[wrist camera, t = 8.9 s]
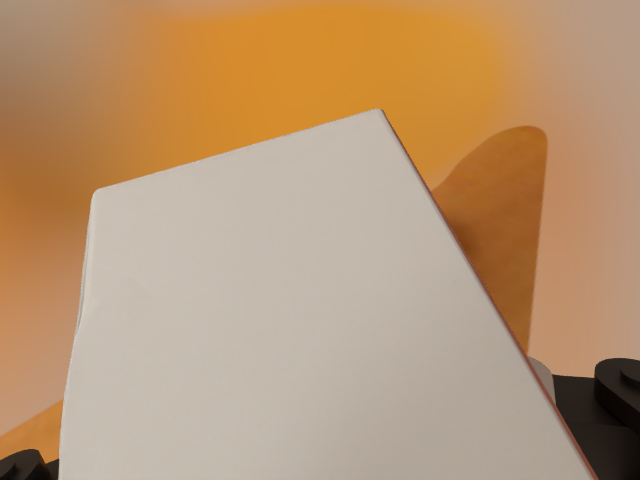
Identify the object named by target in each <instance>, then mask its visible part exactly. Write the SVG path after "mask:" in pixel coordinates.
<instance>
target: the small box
mask: <svg viewBox="0 0 640 480" xmlns="http://www.w3.org/2000/svg"><path fill="white" fill-rule="evenodd" d="M58 480H599V479H598V477H597V476H596V474H595V472H594V471H593V469H592V467H591V466H590V464H589V462H588V461H587V459H586V457H585V455H584V454H583V452H582V450H581V448H580V447H579V445H578V443H577V441H576V440H575V438H574V436H573V435H572V433H571V431H570V429H569V428H568V426H567V424H566V422H565V421H564V419H563V417H562V415H561V414H560V412H559V410H558V409H557V407H556V405H555V403H554V402H553V400H552V398H551V397H550V395H549V393H548V391H547V390H546V388H545V386H544V385H543V383H542V381H541V379H540V378H539V376H538V374H537V373H536V371H535V369H534V367H533V366H532V364H531V362H530V361H529V359H528V357H527V355H526V354H525V352H524V350H523V349H522V347H521V345H520V343H519V342H518V340H517V338H516V337H515V335H514V333H513V332H512V330H511V328H510V327H509V325H508V323H507V322H506V320H505V319H504V317H503V315H502V314H501V312H500V310H499V309H498V307H497V306H496V304H495V302H494V301H493V299H492V297H491V295H490V293H489V291H488V289H487V287H486V286H485V284H484V282H483V280H482V279H481V277H480V275H479V273H478V272H477V270H476V268H475V267H474V265H473V263H472V262H471V260H470V258H469V257H468V255H467V253H466V252H465V250H464V249H463V247H462V245H461V243H460V241H459V239H458V237H457V236H456V234H455V232H454V230H453V229H452V227H451V225H450V224H449V222H448V220H447V219H446V217H445V215H444V213H443V212H442V210H441V208H440V207H439V205H438V204H437V202H436V201H435V199H434V197H433V195H432V194H431V192H430V190H429V188H428V187H427V185H426V183H425V181H424V180H423V178H422V177H421V175H420V173H419V171H418V170H417V168H416V166H415V165H414V163H413V161H412V159H411V158H410V156H409V154H408V153H407V151H406V149H405V147H404V146H403V144H402V142H401V141H400V139H399V137H398V136H397V134H396V132H395V130H394V129H393V127H392V125H391V124H390V122H389V121H388V119H387V117H386V115H385V113H384V111H383V110H381V109H373V110H369V111H366V112H362V113H359V114H356V115H352V116H349V117H346V118H342V119H339V120H335V121H332V122H328V123H325V124H322V125H318V126H315V127H312V128H309V129H306V130H301V131H298V132H295V133H291V134H288V135H284V136H281V137H277V138H274V139H271V140H267V141H263V142H260V143H256V144H253V145H250V146H246V147H242V148H239V149H236V150H232V151H229V152H225V153H222V154H219V155H215V156H212V157H208V158H205V159H202V160H199V161H195V162H191V163H188V164H184V165H181V166H178V167H174V168H171V169H168V170H164V171H160V172H157V173H153V174H150V175H146V176H143V177H139V178H136V179H133V180H129V181H126V182H122V183H119V184H115V185H111V186H108V187H104V188H100V189H98V190H96V191H95V192H94V194H93V197H92V201H91V208H90V217H89V222H88V230H87V242H86V249H85V257H84V264H83V272H82V283H81V293H80V304H79V312H78V318H77V325H76V332H75V338H74V344H73V349H72V355H71V361H70V366H69V371H68V377H67V382H66V388H65V395H64V403H63V413H62V422H61V431H60V447H59V478H58Z"/></svg>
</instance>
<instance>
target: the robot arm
mask: <svg viewBox="0 0 640 480" xmlns="http://www.w3.org/2000/svg"><path fill="white" fill-rule="evenodd" d="M527 357H528V356H527ZM528 359H529V361H530V362H531V364H532V366H533V367H534V369H535V371H536V373H537V374H538V376H539V378H540V379H541V381H542V383H543V385H544V386H545V388H546V390H547V391H548V393H549V395H550V397H551V398H552V400H553V402H554V403H555V405H556V407H557V409H558V410H559V412H560V414H561V415H562V417H563V419H564V421H565V422H566V424H567V426H568V428H569V429H570V431H571V433H572V435H573V436H574V438H575V440H576V441H577V443H578V445H579V447H580V448H581V450H582V452H583V454H584V455H585V457H586V459H587V461H588V462H589V464H590V466H591V467H592V469H593V471H594V472H595V474H596V476H597V477H598V479H599V480H640V361H639V360H634V359H626V358H613V359H606V360H603V361H601V362H599V363H598V364H597V365H596V367H595V375H594V378H587V377H572V376H560V375H553V374H551V372H550V370H549V369H548V368H547V367H546V366H545V365H543V364H542V363H541V362H539V361H537V360H535V359H533V358H531V357H528ZM58 478H59V459H57V460H54V461H52V462H49V463H47V464H45V462H44V460H43V458H42V456H41V454H40V453H39V451H38V450H35V449H28V450H23V451H20V452H17V453H14V454H12V455H10V456H8V457H6V458H4V459H2V460H0V480H58Z"/></svg>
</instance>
